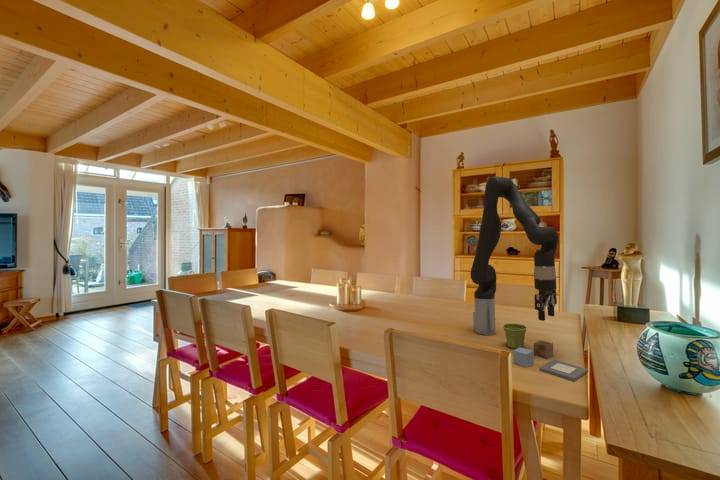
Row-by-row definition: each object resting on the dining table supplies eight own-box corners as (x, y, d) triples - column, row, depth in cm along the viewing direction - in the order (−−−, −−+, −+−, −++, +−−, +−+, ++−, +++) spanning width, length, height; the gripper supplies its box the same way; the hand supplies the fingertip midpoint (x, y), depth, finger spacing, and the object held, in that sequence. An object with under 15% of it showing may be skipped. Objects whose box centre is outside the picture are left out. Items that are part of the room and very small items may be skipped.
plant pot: (514, 352, 131) (513, 331, 131) (498, 344, 140) (497, 324, 140) (533, 348, 133) (532, 328, 133) (516, 341, 143) (515, 322, 142)
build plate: (539, 370, 114) (539, 367, 114) (554, 362, 120) (554, 359, 120) (574, 381, 105) (574, 378, 105) (588, 372, 111) (588, 368, 111)
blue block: (513, 363, 120) (513, 350, 120) (520, 360, 123) (520, 347, 123) (526, 367, 116) (526, 354, 116) (533, 364, 119) (533, 350, 119)
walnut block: (533, 355, 127) (533, 343, 127) (540, 352, 130) (539, 340, 130) (547, 359, 123) (546, 346, 123) (553, 355, 126) (552, 343, 126)
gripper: (542, 274, 133) (544, 313, 134) (526, 278, 125) (528, 320, 125) (562, 275, 127) (564, 316, 128) (547, 280, 119) (549, 323, 119)
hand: (546, 318), depth 126 cm, fingers open, 8 cm apart
